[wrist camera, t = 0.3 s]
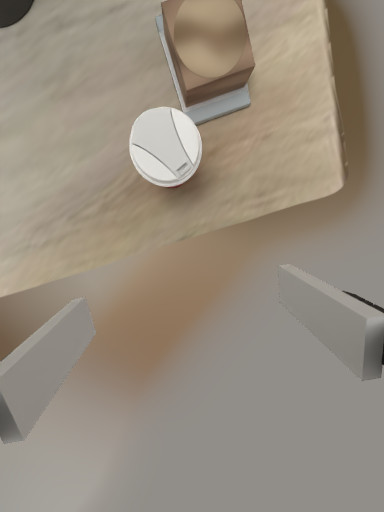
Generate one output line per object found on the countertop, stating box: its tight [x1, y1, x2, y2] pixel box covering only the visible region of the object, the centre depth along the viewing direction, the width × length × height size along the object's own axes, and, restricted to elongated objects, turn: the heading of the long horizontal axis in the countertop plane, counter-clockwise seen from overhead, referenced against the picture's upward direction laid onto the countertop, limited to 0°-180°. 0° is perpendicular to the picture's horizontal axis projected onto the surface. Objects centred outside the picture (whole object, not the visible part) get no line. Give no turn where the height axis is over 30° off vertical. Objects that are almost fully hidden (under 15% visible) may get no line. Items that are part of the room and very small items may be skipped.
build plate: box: [155, 15, 251, 125], centre depth 32 cm, size 15×11×1 cm
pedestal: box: [161, 0, 255, 108], centre depth 29 cm, size 10×10×5 cm
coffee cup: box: [129, 107, 202, 188], centre depth 29 cm, size 8×8×15 cm
